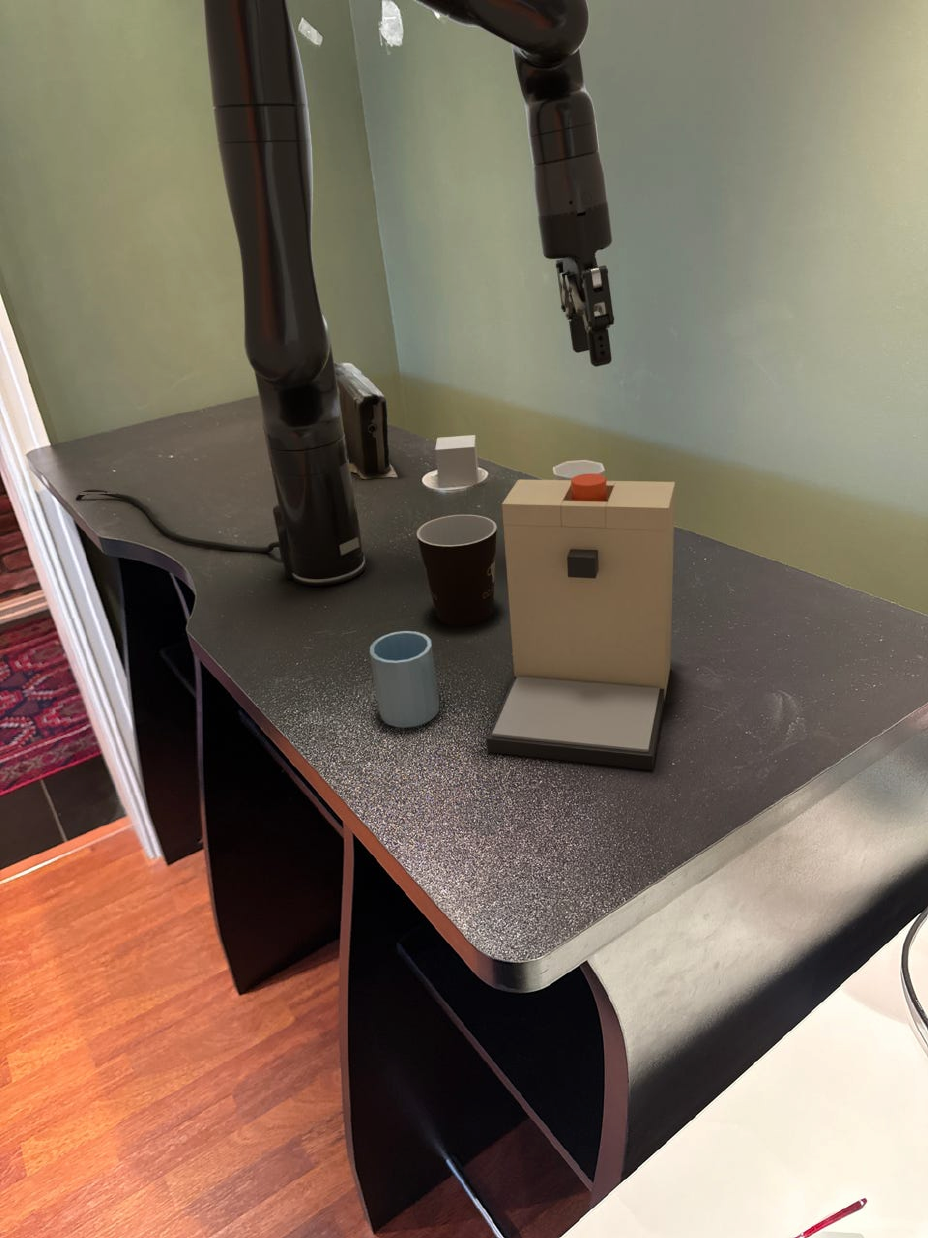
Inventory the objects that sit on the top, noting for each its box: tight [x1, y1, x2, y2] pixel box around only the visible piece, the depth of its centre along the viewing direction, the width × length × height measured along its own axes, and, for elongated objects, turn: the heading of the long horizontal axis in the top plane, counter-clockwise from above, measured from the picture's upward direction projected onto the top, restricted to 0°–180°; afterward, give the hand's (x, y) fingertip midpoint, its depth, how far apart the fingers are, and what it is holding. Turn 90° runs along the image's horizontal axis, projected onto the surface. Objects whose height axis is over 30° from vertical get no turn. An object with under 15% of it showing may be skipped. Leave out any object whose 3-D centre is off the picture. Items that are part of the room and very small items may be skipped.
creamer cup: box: [369, 630, 440, 729], centre depth 81 cm, size 6×6×7 cm
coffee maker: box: [486, 479, 676, 771], centre depth 76 cm, size 14×16×19 cm
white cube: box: [434, 434, 479, 488], centre depth 137 cm, size 6×6×6 cm
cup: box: [552, 459, 606, 480], centre depth 116 cm, size 7×10×8 cm
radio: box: [334, 362, 399, 480], centre depth 148 cm, size 23×9×15 cm, turn 13°
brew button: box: [571, 474, 607, 502], centre depth 76 cm, size 3×3×2 cm
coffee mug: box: [416, 514, 498, 627], centre depth 98 cm, size 12×9×10 cm
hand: (591, 357), depth 102 cm, fingers open, 8 cm apart
